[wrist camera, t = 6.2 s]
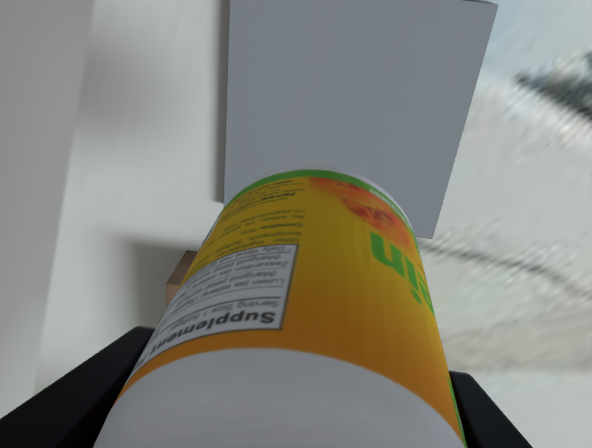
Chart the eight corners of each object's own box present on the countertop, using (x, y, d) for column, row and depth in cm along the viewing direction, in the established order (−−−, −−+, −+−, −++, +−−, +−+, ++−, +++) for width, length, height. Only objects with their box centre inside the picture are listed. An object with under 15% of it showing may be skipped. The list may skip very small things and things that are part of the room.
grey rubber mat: (494, 4, 17) (498, 4, 17) (430, 234, 22) (432, 239, 21) (233, -27, 18) (230, -27, 17) (226, 204, 22) (223, 209, 22)
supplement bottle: (445, 297, 12) (644, 983, 4) (272, 350, 14) (155, 918, 6) (368, 121, 10) (443, 771, 2) (176, 206, 12) (-242, 766, 4)
